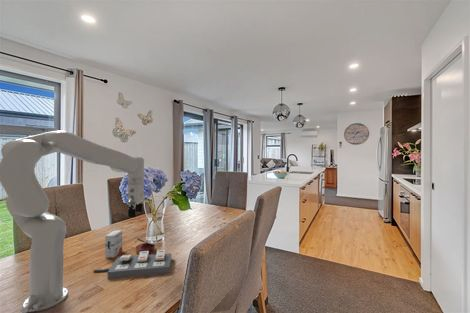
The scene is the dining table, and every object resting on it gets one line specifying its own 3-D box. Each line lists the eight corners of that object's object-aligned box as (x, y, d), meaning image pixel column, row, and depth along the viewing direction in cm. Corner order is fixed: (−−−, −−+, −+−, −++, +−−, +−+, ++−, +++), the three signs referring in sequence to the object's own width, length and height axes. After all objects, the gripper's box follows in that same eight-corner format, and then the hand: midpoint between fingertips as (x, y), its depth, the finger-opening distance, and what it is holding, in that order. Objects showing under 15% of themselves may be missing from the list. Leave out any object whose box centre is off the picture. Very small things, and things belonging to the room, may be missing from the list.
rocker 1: (128, 260, 102) (128, 257, 102) (119, 260, 101) (119, 257, 102) (131, 257, 108) (131, 254, 108) (122, 257, 107) (123, 254, 107)
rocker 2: (146, 261, 104) (146, 258, 104) (137, 261, 103) (137, 259, 103) (148, 253, 110) (148, 250, 110) (140, 253, 109) (140, 251, 109)
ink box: (113, 250, 122) (114, 229, 122) (122, 250, 122) (122, 230, 122) (104, 257, 114) (104, 235, 114) (113, 258, 114) (114, 235, 114)
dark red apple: (137, 258, 124) (136, 240, 128) (155, 254, 127) (154, 236, 131) (134, 257, 114) (133, 237, 118) (155, 252, 118) (153, 233, 122)
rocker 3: (164, 259, 106) (164, 257, 106) (155, 260, 105) (155, 258, 105) (165, 251, 112) (165, 249, 111) (157, 252, 111) (157, 250, 110)
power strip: (169, 273, 100) (169, 266, 100) (87, 280, 93) (87, 273, 93) (171, 258, 114) (171, 252, 114) (99, 264, 107) (100, 257, 107)
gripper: (137, 183, 103) (136, 219, 103) (148, 179, 120) (148, 209, 120) (120, 183, 102) (120, 219, 103) (134, 179, 120) (134, 209, 120)
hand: (135, 214), depth 111 cm, fingers open, 9 cm apart
